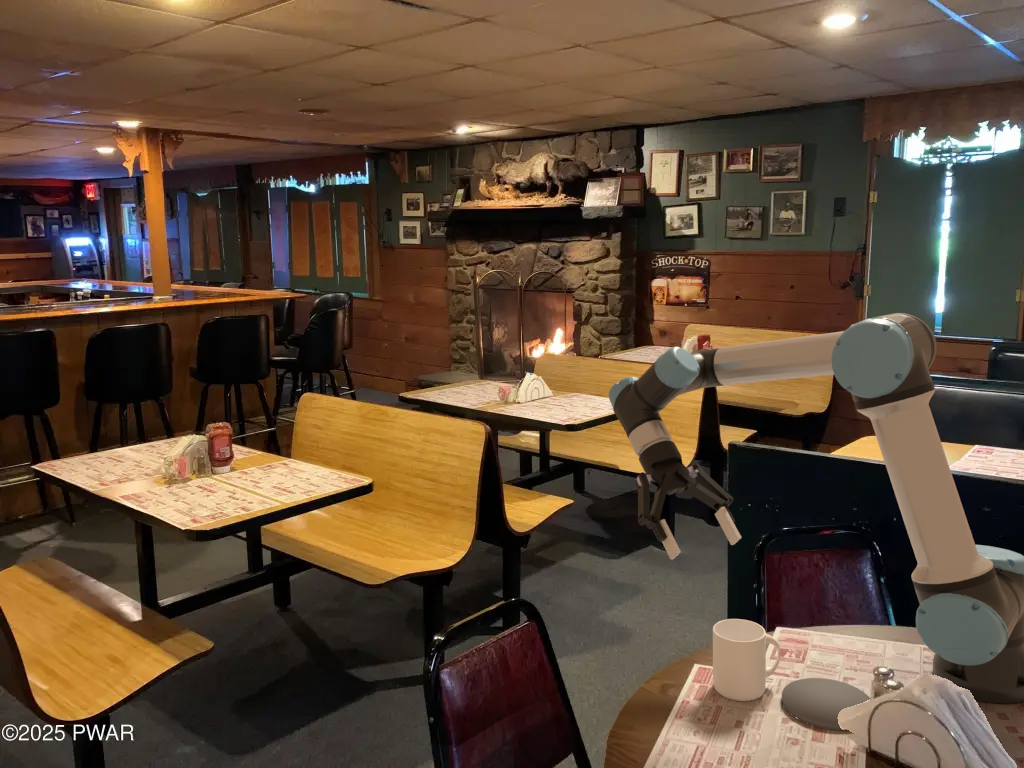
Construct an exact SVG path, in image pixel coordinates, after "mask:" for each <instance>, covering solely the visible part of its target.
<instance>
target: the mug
mask: <svg viewBox="0 0 1024 768" xmlns="http://www.w3.org/2000/svg"><path fill="white" fill-rule="evenodd" d="M766 632H767V631H766V630H765V628H764V627H763V626H762V625H760V624H759V623H757V622H754V621H752V620H747V619H740V618H728V619H723V620H720V621H718V622H716V623H715V624H714V625H713V626H712V683H713V686H714V687H713V688H714V689H715V691H716V692H717V693H718V694H719V695H721V696H722V697H724V698H726V699H729V700H732V701H735V702H750V701H751V700H752V701H754V700H758V699H759V698H761V697H762V696H763V695H764V694H765V692H766V683H767V682H766V680H767V679H766V678H768V677H771V676H772V675H773V674H774V673H775V671H776V670H777V668H778V667H779V664H780V659H781V647H780V644H779V642H778V641H777V639H776V638H775V637H773V636H772V635H770V634H767V633H766ZM767 644H770V645H772V646H774V647H775V649H776V652H777V655H776V656H777V657H776V660H775V661H774V662H773V664H772V665H770V666H767V667H766V663H767V661H766V660H767V651H766V649H767V648H766V647H767ZM757 698H758V699H757Z"/></svg>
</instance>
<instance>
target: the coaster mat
mask: <svg viewBox="0 0 1024 768" xmlns="http://www.w3.org/2000/svg"><path fill="white" fill-rule="evenodd" d="M869 699H871V700H872V698H871V697H870V696H869V695H868V694H867V693H865V692H864V691H863V690H861V689H859V688H857V687H856V686H853V685H851V684H849V683H846V682H843V681H840V680H836V679H831V678H821V677H808V678H801V679H800V678H799V679H796V680H794V681H791V682H789V683H788V684H786V686H784V688H783V689H782V692H781V703H783V704H782V706H783V705H784V706H783V708H784V707H785V708H784V709H785V711H786V710H787V711H788V712H789V713H790V714H789V713H788V712H787V711H786V712H787V713H788V714H789V715H791V714H792V715H793V716H794V717H793V716H792V715H791V716H792V717H793V718H795V717H797V718H798V719H799V720H798V719H797V720H798V721H800V720H801V721H800V722H802V721H803V722H802V723H804V722H805V723H804V724H806V723H808V724H807V725H809V724H810V725H809V726H811V725H813V726H812V727H815V726H817V727H816V728H818V727H820V728H819V729H822V728H824V729H823V730H828V729H829V730H831V731H840V732H841V731H842V729H841V728H840V726H839V724H838V719H837V717H838V714H839V712H840V711H841V710H842V709H844V708H847V707H851V706H854V705H857V704H860V703H863V702H865V701H867V700H869ZM829 730H828V731H829ZM842 732H843V731H842Z"/></svg>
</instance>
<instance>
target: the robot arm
mask: <svg viewBox="0 0 1024 768" xmlns="http://www.w3.org/2000/svg"><path fill="white" fill-rule="evenodd" d="M936 354H937V340H936V337H935V334H934V332H933V330H932V329H931V327H930V326H929V325H928V324H927V323H926V322H925V321H923V320H922V319H921V318H919V317H917V316H914V315H912V314H909V313H904V312H896V313H895V312H894V313H888V314H885V315H880V316H873V317H871V318H864V319H863V320H861V321H858V322H856V323H853V324H851V325H850V326H849V327H848V328H847V329H845V330H842V331H836V332H835V331H834V332H830V333H829V332H828V333H820V334H814V335H806V336H799V337H797V336H796V337H791V338H790V337H789V338H783V339H777V340H776V339H775V340H770V341H769V340H768V341H762V342H753V343H746V344H740V345H732V346H726V347H725V346H724V347H720V348H719V347H718V348H703V349H697V350H695V351H693V352H690V351H688V350H687V349H685V348H681V347H680V346H672V347H670V348H669V349H667V350H666V351H665V352H664V353H662V354H661V355H659V356H658V358H656V360H655V362H653V364H652V365H650V366H649V367H648V368H647V369H646V370H645V371H644V373H643V374H642V375H641V376H639V377H637V376H626V377H624V378H622V379H620V381H618V382H614V384H613V385H612V386H611V387H610V388H609V391H608V400H609V401H610V405H611V406H612V412H614V414H615V416H616V418H617V419H618V421H619V423H620V424H621V427H622V428H623V430H624V432H625V434H626V437H627V439H628V441H629V443H630V445H631V447H632V448H633V451H634V452H635V455H636V456H637V458H638V461H639V463H640V466H641V467H642V469H643V471H644V472H641V471H640V473H639V474H638V476H637V477H636V478H635V480H634V483H635V486H636V489H637V523H638V525H640V526H644V525H645V526H646V528H647V529H648V530H651V529H652V532H653V534H654V536H655V538H656V540H657V541H658V542H659V543H660V542H661V543H662V544H663V548H664V549H665V551H666V554H667V556H668V557H669V559H670V560H674V559H676V557H677V556H679V554H680V553H681V552H682V551H681V550H680V548H679V546H678V542H676V539H675V537H674V535H673V533H672V531H671V529H670V527H669V525H668V523H667V521H666V518H665V519H664V518H663V519H661V515H662V511H663V507H664V504H665V500H666V496H671V495H673V494H681V493H684V494H686V495H691V496H693V497H694V498H695V499H697V500H699V501H700V502H702V503H703V504H705V505H707V506H708V507H709V508H711V509H713V510H715V513H714V516H715V518H716V520H717V521H718V523H719V526H720V527H721V529H722V531H723V533H724V535H725V537H726V539H727V540H728V542H729V544H730V545H731V546H734V545H736V543H738V542H739V540H741V539H742V538H743V537H742V535H741V534H740V532H739V530H738V528H737V527H736V524H735V523H736V520H735V518H734V516H733V514H732V512H731V511H730V508H729V506H730V505H731V504H732V503H733V501H734V500H735V499H734V497H733V496H732V495H731V494H730V493H728V492H727V491H726V490H725V489H724V488H723V487H722V486H721V485H720V484H718V483H717V482H716V481H715V480H714V479H713V478H712V477H710V475H709V474H707V473H706V472H705V471H704V469H703V468H702V467H701V465H700V464H699V463H698V462H695V463H693V465H692V466H689V467H688V466H686V465H685V464H684V463H683V459H682V454H681V453H680V451H679V449H678V447H677V445H676V443H675V442H674V441H673V437H672V436H671V433H670V432H669V430H668V429H667V428H668V427H666V424H665V423H664V421H663V419H662V416H661V415H660V412H661V411H662V410H664V409H665V408H666V407H667V406H668V405H669V404H670V403H671V402H672V401H673V400H674V399H676V398H677V397H679V396H680V395H683V394H687V393H689V392H693V391H694V392H695V391H696V390H700V389H701V390H702V389H705V388H713V387H714V388H715V387H722V386H723V387H724V386H730V385H732V386H733V385H742V384H752V383H761V382H762V383H764V382H771V381H774V382H775V381H783V380H793V379H794V380H795V379H804V378H806V379H807V378H814V377H815V378H816V377H823V376H834V377H835V379H836V381H837V382H838V384H839V385H840V386H841V387H842V388H843V389H844V390H845V391H848V392H849V393H850V394H851V397H852V400H853V402H854V405H855V410H856V411H857V412H858V413H860V414H862V415H863V416H865V417H867V418H868V419H870V422H871V424H872V428H873V431H874V434H875V438H876V440H877V443H878V447H879V449H880V452H881V455H882V459H883V461H884V464H885V468H886V471H887V473H888V476H889V479H890V483H891V485H892V489H893V491H894V496H895V499H896V502H897V504H898V508H899V510H900V513H901V516H902V517H901V518H902V520H903V522H904V523H903V524H904V526H905V529H906V531H907V536H908V538H909V540H910V544H911V547H912V549H913V553H914V557H915V559H916V561H917V565H916V567H915V568H914V570H913V571H912V573H911V581H912V583H913V586H914V587H913V588H914V590H915V594H916V596H917V599H918V603H919V606H918V607H917V610H916V611H915V612H916V613H915V614H916V615H915V628H916V630H917V633H918V635H919V637H920V639H921V641H922V642H923V644H924V645H925V646H926V647H927V648H928V649H929V650H930V651H931V652H932V653H934V655H933V659H932V674H935V675H937V676H940V677H942V678H946V679H948V680H950V681H952V682H953V683H954V684H956V685H957V686H959V687H962V688H965V689H968V690H970V692H971V693H972V695H973V696H974V698H975V699H974V700H977V701H982V702H987V703H994V704H995V703H996V704H1017V703H1023V702H1024V555H1023V554H1021V553H1019V552H1016V551H1013V550H1010V549H1006V548H1001V547H996V546H991V545H982V544H976V543H975V540H974V538H973V533H972V530H971V529H970V526H969V525H970V524H969V523H968V519H967V516H966V514H965V510H964V507H963V504H962V502H961V501H962V500H961V498H960V495H959V492H958V489H957V486H956V483H955V480H954V477H953V474H952V470H951V468H950V465H949V462H948V459H947V456H946V454H945V450H944V447H943V444H942V442H941V438H940V435H939V432H938V428H937V426H936V423H935V420H934V417H933V413H932V410H931V408H930V406H929V404H930V402H931V401H930V400H931V398H932V397H933V396H934V394H935V392H936V389H935V388H936V387H935V385H934V382H933V379H932V376H931V373H930V368H931V367H932V364H933V363H934V361H935V358H936ZM650 484H651V485H653V486H654V487H655V488H656V489H655V493H654V496H653V497H654V500H653V503H652V506H651V505H650V503H651V501H650V497H651V496H650ZM650 509H651V510H650Z"/></svg>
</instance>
